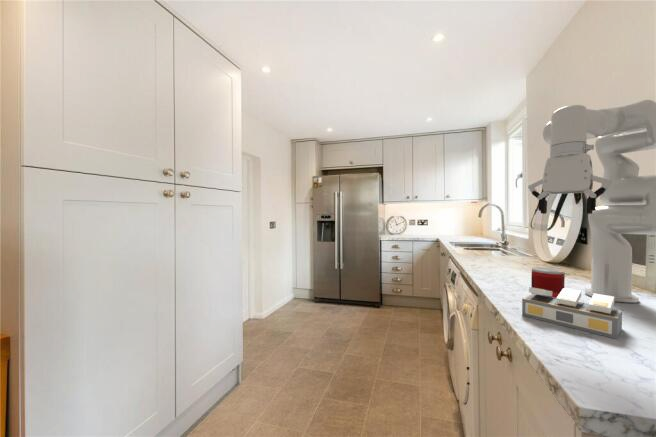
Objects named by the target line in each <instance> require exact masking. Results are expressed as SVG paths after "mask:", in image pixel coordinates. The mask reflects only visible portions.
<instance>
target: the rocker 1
mask: <svg viewBox="0 0 656 437" xmlns="http://www.w3.org/2000/svg"><path fill="white" fill-rule="evenodd" d="M528 293H530V294H531V293H535V294H540V295H546V296H552V291H548V290H545V289H539V288H533V287H532V288H531V287H530V286H529V287H528Z"/></svg>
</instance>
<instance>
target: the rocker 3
mask: <svg viewBox="0 0 656 437" xmlns="http://www.w3.org/2000/svg"><path fill="white" fill-rule="evenodd" d="M615 302H616V301H614V296H608V295H602V294H596V293H594V294H593V296H591V298H590V300H589V302H588V304H589V310H594V311H599V312H604V313H609V314H610V313H611V311H612V308H613V307H614V304H615ZM613 309H614V308H613Z"/></svg>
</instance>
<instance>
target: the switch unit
mask: <svg viewBox="0 0 656 437" xmlns="http://www.w3.org/2000/svg"><path fill="white" fill-rule="evenodd" d="M521 300H522V301H521V302H522V303H521V305H522V306H521V307H522V309H521V312H522V313H521V315H522V316H523V317H528V318H532V319H537V320H540V321H544V322H546V323H547V322H548V323H552V324H556V325H560V326H563V327H568V328H572V329H576V330H578V331H583V332H588V333H590V334H596V335H600V336H604V337H608V338H612V339H615V340H617V339H618V338H619V336H620V333H621V332H622V330H623V324H622V323H623V310H621V309H617V308H612V311H611V313H610V314H609V313H604V312H599V311H594V310H589V303H586V302H581V301H578V303H577V305H576V307H574V306H569V305H564V304H560V303H557V298H555V297H550V296H545V295H540V294H534V293H532V294H531V293H530V294H529V295H527V296H524V297H523V298H522V299H521Z"/></svg>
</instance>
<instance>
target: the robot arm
mask: <svg viewBox="0 0 656 437" xmlns="http://www.w3.org/2000/svg"><path fill="white" fill-rule="evenodd" d="M542 137H543V140H544V141H545V143H546V144H547V145H550V146H549V158H547V159H546V161H545V166H544V168H543V169H544V170H543V177H542V179H540V180H538V181H536V182H533V183H531V184H529V185H528V186H527V187H528V190H529V192H530V193H531V194H532V195H533V196H534V197H535V198H536V199H537V200H538V211H539V212H540V214H543V215H545V214H547V213H548V212H547V211H548V200H546V199H547V198H548V197H549V196H550V195H557V194H558V195H560V194H579V193H580V194H583V193H585V194H586V195H587V196H588V197H587V198H586V214H588V216H587V217H588V218H587V219H588V225H589V230H590V236H591V270H590V271H591V273H590V274H591V275H590V276H591V282H590V286H591V288H586V289H584V293H585V295H587V296H589V297H592V296H593V294H594V293H596V294H602V295H608V296H614V301H615V302H618V303H628V304H630V303H632V304H633V303H639V302H640V301H639V300H640V298H639V297H638V296H635V295H633V294H632V287H633V286H632V283H633V281H632V280H633V270H632V269H633V265H632V264H633V248H632V245H631V243H630V242H629V241H628V240H627V239H626V238H625V237H623V235H624V234H625V235H649V236H650V235H651V236H652V235H656V174H653V175H652V174H651V175H639V173H640V172H639V171H640V165H639V164H638V163H636V162H635V161H634V160H632V159H631V158H629V157H627V156H625V155H623V154H629V153H634V152H642V151H648V150H649V151H651V150H655V149H656V101H654V100H652V99H643V100H639V101H634V102H631V103H627V104H623V105H618V106H615V107H609V108H601V109H590V108H587V107H586V106H585V105H582V104H572V105H567V106H563V107H561V108H558V109H556V110H555V111H553V113H552V115H551V119H550V121H549V122H547V123H546V125H545V126H544V127H543V131H542ZM590 139H595V142H594V144H588V143H587V140H590ZM594 149H595V151H596V154H597V156H598V159H599V161H600V163H601V165H602V167H603V175H602V177H600V176H597V175H594V174H593V171H594V170H593V162H592V158H591V155H590V154H588V152H589V151H594ZM594 182H596V183H600V185H601V186H600V187H599V188H598V189H597V190H595V191H593V186H594ZM541 186H542V192H540V193H539V191H537V188H538V187H539V188H540V187H541ZM598 198H599V200H600V201H601V203H603V204H605V205H600V206H597V199H598ZM622 234H623V235H622Z"/></svg>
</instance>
